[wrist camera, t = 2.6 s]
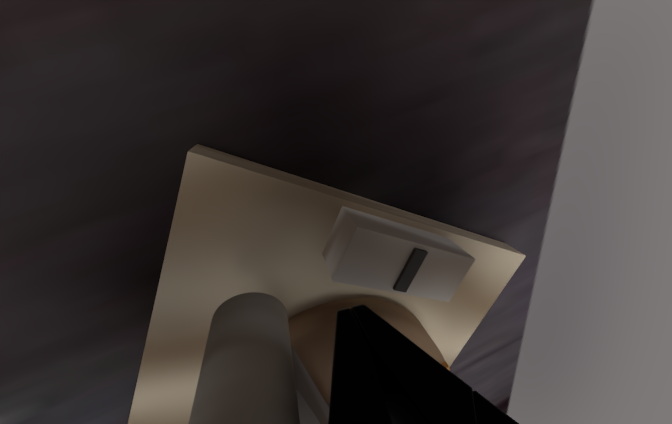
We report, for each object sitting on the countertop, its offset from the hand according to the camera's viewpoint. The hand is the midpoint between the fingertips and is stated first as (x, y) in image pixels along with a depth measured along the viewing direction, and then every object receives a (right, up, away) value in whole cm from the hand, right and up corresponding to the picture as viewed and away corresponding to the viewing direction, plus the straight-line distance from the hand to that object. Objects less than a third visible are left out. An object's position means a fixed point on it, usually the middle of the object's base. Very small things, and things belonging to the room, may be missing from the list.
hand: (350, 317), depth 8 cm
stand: (-1, -4, +8) cm, 10 cm away
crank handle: (-1, -4, +6) cm, 8 cm away
